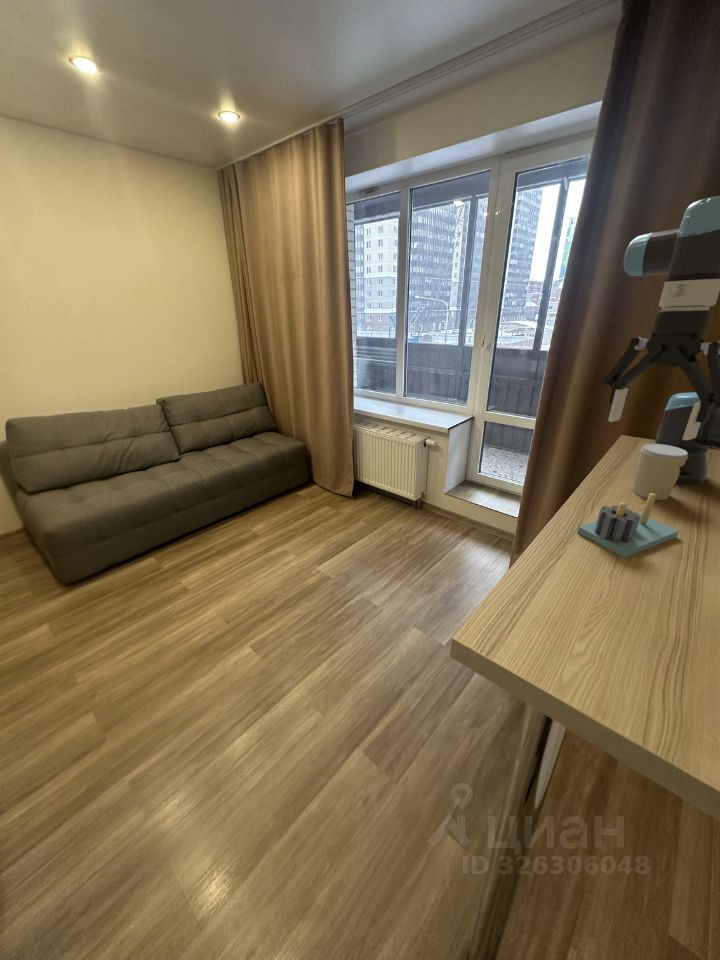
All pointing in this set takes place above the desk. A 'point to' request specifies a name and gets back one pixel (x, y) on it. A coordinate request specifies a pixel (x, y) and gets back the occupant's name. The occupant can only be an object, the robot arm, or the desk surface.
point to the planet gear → (616, 524)
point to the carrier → (643, 535)
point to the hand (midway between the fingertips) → (648, 429)
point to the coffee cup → (658, 470)
